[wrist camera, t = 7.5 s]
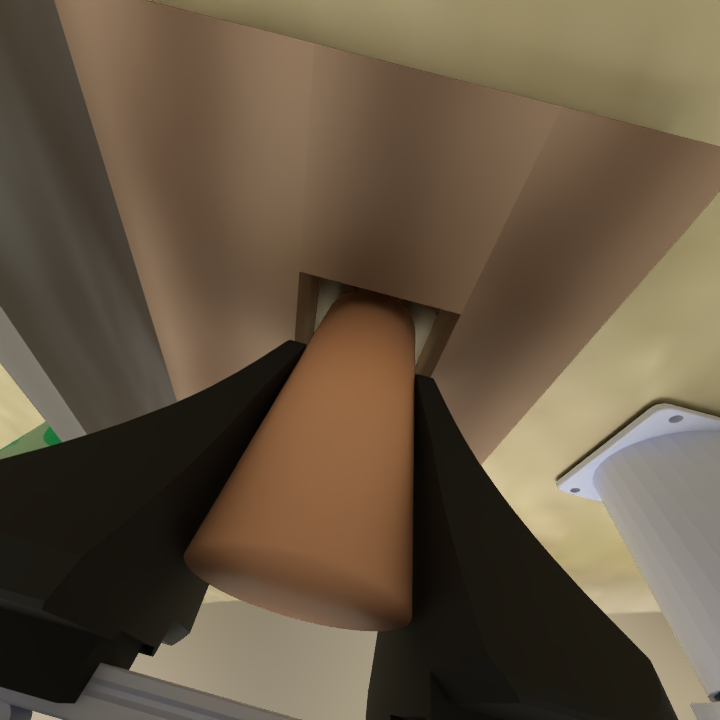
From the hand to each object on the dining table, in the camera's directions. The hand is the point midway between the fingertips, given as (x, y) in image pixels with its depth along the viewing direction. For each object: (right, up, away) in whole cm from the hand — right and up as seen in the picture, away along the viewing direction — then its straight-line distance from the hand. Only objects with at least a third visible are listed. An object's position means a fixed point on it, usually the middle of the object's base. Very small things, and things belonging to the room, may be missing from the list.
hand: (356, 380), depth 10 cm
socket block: (-1, +3, +4) cm, 5 cm away
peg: (+1, +2, +2) cm, 3 cm away
